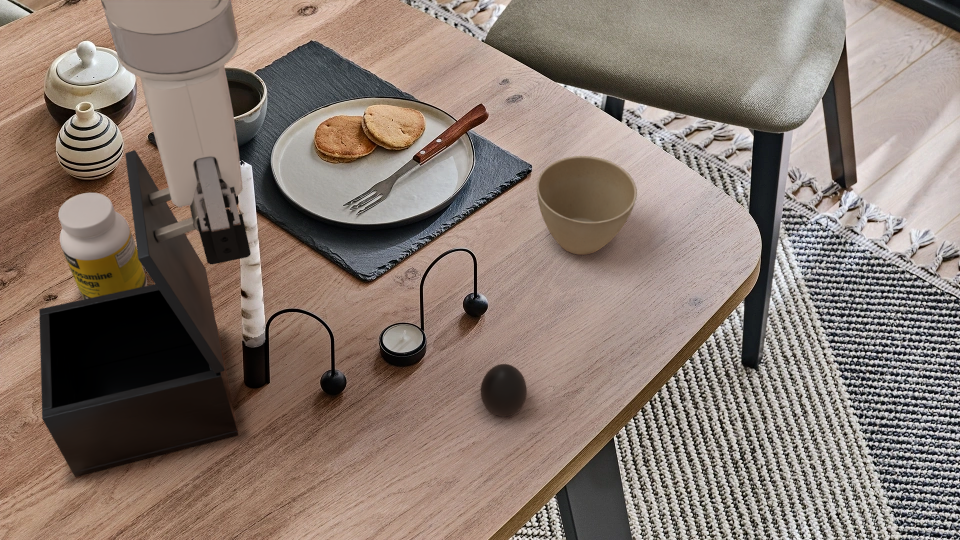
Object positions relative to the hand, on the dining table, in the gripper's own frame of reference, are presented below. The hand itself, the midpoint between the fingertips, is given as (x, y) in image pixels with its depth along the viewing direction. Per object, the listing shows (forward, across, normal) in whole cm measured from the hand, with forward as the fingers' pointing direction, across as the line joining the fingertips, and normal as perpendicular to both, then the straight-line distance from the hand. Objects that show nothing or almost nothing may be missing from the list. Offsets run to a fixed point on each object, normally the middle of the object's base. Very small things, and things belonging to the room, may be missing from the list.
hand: (223, 230), depth 72 cm
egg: (+19, +9, +20) cm, 29 cm away
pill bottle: (+19, -14, -12) cm, 27 cm away
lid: (+3, 0, -4) cm, 5 cm away
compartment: (+19, 0, -10) cm, 21 cm away
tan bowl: (+19, -8, +35) cm, 41 cm away
